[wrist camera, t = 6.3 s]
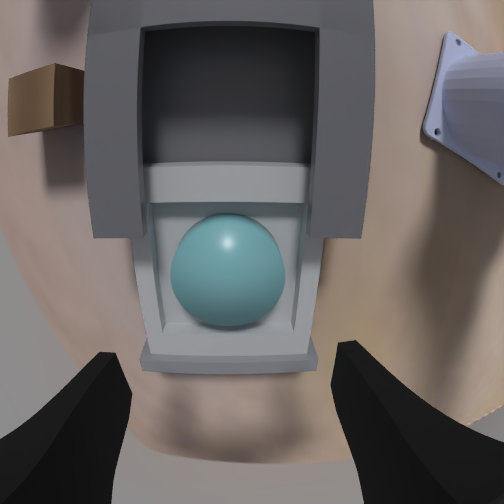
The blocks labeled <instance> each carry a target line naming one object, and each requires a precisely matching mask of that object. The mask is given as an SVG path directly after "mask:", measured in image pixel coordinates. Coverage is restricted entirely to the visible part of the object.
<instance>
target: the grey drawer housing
mask: <svg viewBox="0 0 504 504" xmlns="http://www.w3.org/2000/svg"><path fill="white" fill-rule="evenodd" d="M374 99H375V29H374V8H373V0H92V5H91V11H90V19H89V26H88V35H87V45H86V58H85V74H84V148H85V165H86V178H87V189H88V199H89V207H90V216H91V223H92V230H93V237H94V238H144V236H145V235H146V233H147V222H146V209H145V195H144V178H143V164H146V163H167V162H204V161H246V162H283V163H304V164H311V171H310V186H309V199H308V212H307V223H306V233H307V235H308V237H309V238H357V239H361V235H362V229H363V222H364V215H365V207H366V199H367V191H368V182H369V172H370V162H371V150H372V137H373V121H374Z"/></svg>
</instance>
